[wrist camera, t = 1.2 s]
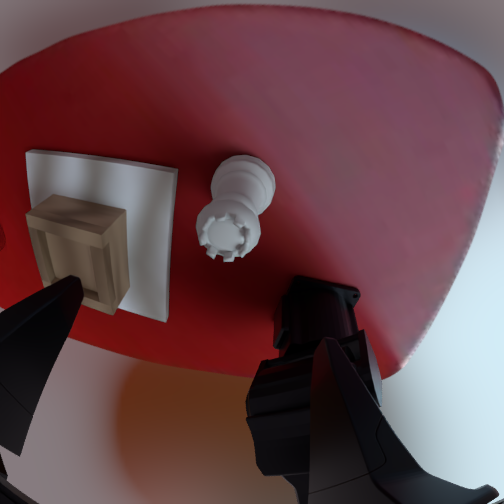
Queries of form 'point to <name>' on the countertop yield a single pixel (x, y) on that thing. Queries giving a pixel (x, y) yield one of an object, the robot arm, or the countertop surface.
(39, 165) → the board
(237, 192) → the rook chess piece
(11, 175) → the countertop surface
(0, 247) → the beer glass
